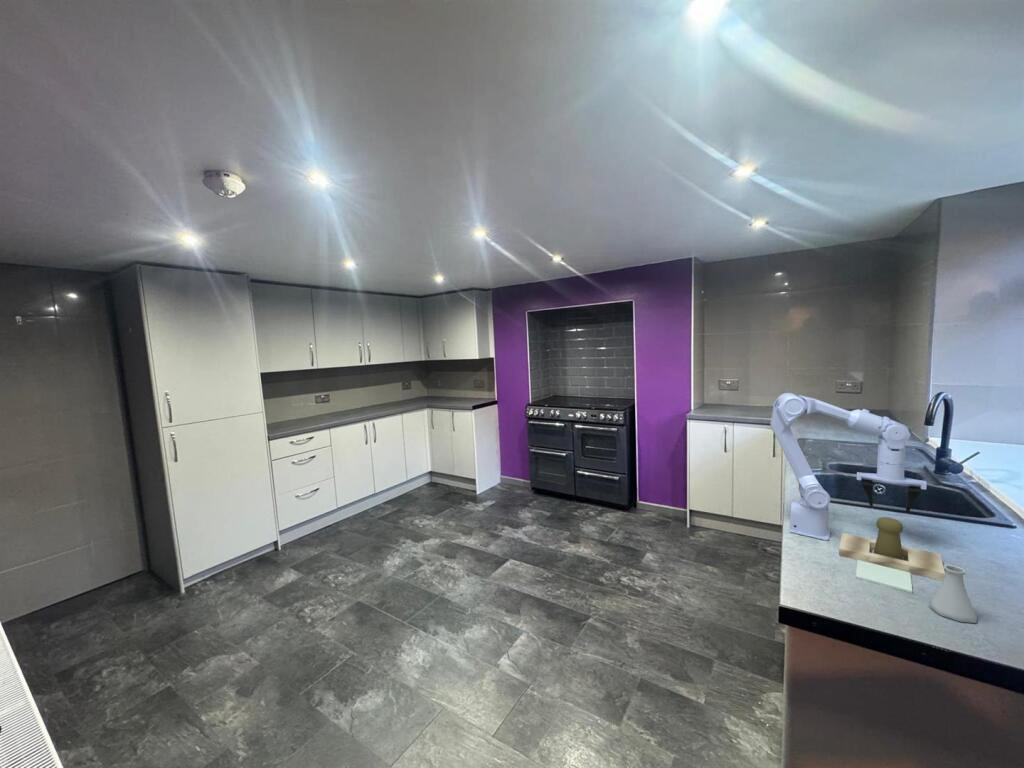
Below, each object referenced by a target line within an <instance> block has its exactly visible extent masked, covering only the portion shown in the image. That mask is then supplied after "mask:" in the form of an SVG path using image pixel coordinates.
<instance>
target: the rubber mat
mask: <svg viewBox="0 0 1024 768" xmlns="http://www.w3.org/2000/svg"><path fill="white" fill-rule="evenodd" d="M855 579H859V580H862V581H865V582H869V583H873V584H877V585H881V586H883V587H884V586H885V587H888V588H891V589H896V590H899V591H903V592H906V593H910V594H913V586H912V577H911V573H909V572H905V571H901V570H897V569H893V568H889V567H885V566H881V565H877V564H873V563H869V562H864V561H860V560H857V563H856V571H855Z"/></svg>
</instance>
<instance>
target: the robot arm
mask: <svg viewBox="0 0 1024 768" xmlns="http://www.w3.org/2000/svg"><path fill="white" fill-rule="evenodd" d="M772 406H773V407H772V413H771V419H770V423H769V425H770V427H771V430H772V432H773V434H774V436H775V438H776V439H777V441H778V443H779V445H780V448H781V449H782V452H783V454H784V456H785V458H786V460H787V462H788V464H789V465H790V467H791V470H792V472H793V473H794V476H795V477H796V481H797V482H798V492H799V494H800V495H801V496H802V497H801V498H800V499H799V501H794V500H793V501H792V502H791V504H790V521H789V524H790V527H789V532H790V533H792V534H797V535H801V536H806V537H809V538H815V539H819V540H823V541H829V538H830V535H831V533H832V532H831V529H829V506H830V504H831V495H830V494H829V493H828V492H827V491H826V490H825V489H824V488H823V486H822V485H821V483H820V482H819V481H818V479H817V477H816V476H815V474H814V471H813V470H812V469H811V466H810V465H809V463H808V461H807V458H806V456H805V454H804V453H803V451H802V449H801V447H800V445H799V442H798V441H797V439H796V436H795V434H794V433H793V431H792V429H791V427H792V425H793V424H794V422H795V420H796V419H798V418H799V417H800V416H802V415H803V414H804V413H805V414H806V415H809V414H813V413H819V414H822V415H825V416H827V417H828V416H829V417H831V418H835V419H838V420H842V421H845V423H846V425H847V426H848V427H849V428H851V429H854V430H857V431H860V432H862V433H864V434H865V433H866V434H868V435H870V436H873V437H874V436H875V437H878V440H877V441H878V442H877V443H878V444H877V457H876V460H877V462H876V463H877V464H876V465H877V466H876V473H871V472H859V471H857V472H856V480H857V481H861V482H860V483H861V485H862V487H863V490H864V491H865V493H866V496H867V499H868V502H869V503H868V504H869V507H873V506H874V498H873V497H874V496H873V489H874V488H873V486H874V485H873V482H875V483H881V484H888V485H895V486H900V487H901V486H902V487H907V488H906V489H907V490H906V492H907V494H906V504H905V512H906V513H908V514H909V513H910V512H911V508H912V506H913V504H914V502H915V501H916V500H917V498H918V497H919V495H920V494H921V492H922V491H921V490H924V491H925V490H927V487H928V485H927V484H928V483H927V480H920V479H914V478H910V477H905V465H906V464H905V463H906V443H907V441H908V440H909V439H910V437H911V434H912V433H910V431H909V429H908V427H907V426H906V425H904V424H902V423H900V422H897V421H896V420H893V419H892V418H890V417H888V416H885V415H884V416H879V415H877V414H874V413H870V410H868V409H866V408H862V409H853V410H851V411H850V410H848V409H845V408H841V407H839V406H836V405H834V404H830V403H827V402H824V401H822V400H819V399H817V398H814V397H809V396H805V395H800V394H799V395H797V394H794V393H793V392H785V393H782V394H780V395H779V396H778V397H777V399H776V400H775V402H774V403H773V404H772Z"/></svg>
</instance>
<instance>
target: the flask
mask: <svg viewBox="0 0 1024 768" xmlns="http://www.w3.org/2000/svg"><path fill="white" fill-rule="evenodd" d="M943 567H944V571H945V578H944V581H942V582H941V585H940V586H939V587H938V589H937V591H936V593H935V594H933V596H932V598H931V600H930V601H929V604H928V607H929V608H930V609H931V610H932V611H934V612H935V613H937V614H938V615H939V616H941V617H944V618H948V619H950V620H955V621H956V622H959V623H960V622H961V623H972V624H977V623H978V616H977V613H976V611H975V609H974V607H973V604H972V602H971V600H970V597H969V594H968V593H967V590H966V588H965V582H964V576H965V575H966V570H965V569H964V568H963V567H961V566H956V565H953V564H943Z"/></svg>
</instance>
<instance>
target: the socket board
mask: <svg viewBox="0 0 1024 768" xmlns="http://www.w3.org/2000/svg"><path fill="white" fill-rule="evenodd" d="M876 540H877V539H871V538H867V537H863V536H857V535H853V534H849V533H844V532H842V533H841V538H840V542H839V543H840V544H839V546H838V556H839V557H844V558H847V559H852V560H856V561H858V560H860V561H864V562H869V563H873V564H877V565H881V566H885V567H889V568H893V569H897V570H901V571H905V572H909V573H910V574H913V575H917V576H921V577H926V578H929V579H933V580H938V581H941V582H943V581H944V578H945V574H946V570H945V569H944V564H943V560H942V556H941V553H937V552H932V551H927V550H923V549H918V548H915V547H914V548H913V547H909V546H904V545H901V546H902V553H903V558H904V557H906V558H907V559H906V560H904V559H903V560H900V559H896V558H891V557H887V556H883V555H878V554H874V552H870V550H874V549H875V545H876Z"/></svg>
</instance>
